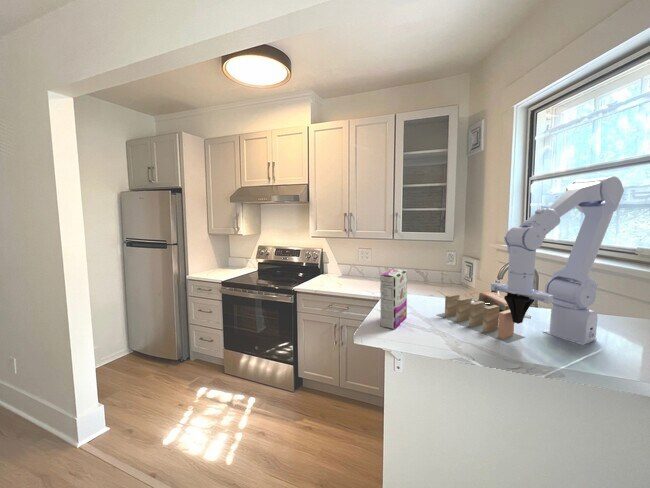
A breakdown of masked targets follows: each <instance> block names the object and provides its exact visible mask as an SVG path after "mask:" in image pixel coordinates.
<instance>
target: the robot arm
mask: <svg viewBox="0 0 650 488" xmlns="http://www.w3.org/2000/svg"><path fill="white" fill-rule="evenodd" d="M624 192H625V189H624V187H623V184H622V181H621V180H620V178H618V176H613V175H611V176H608V177H600V178H599V177H598V178H590V179H588V178H587V179H576V180H573V181H572V182H571V183H570V184H568V185H566V187H565V192H564V193H562V195H561V196H560V197H559V198H558V199H556V200H555V201H554V202H553V203H552V204H551V205H550V206H549V207H548V208H545V207H544V208H539V209H536V210H535V211H534V214H532V215H531V216H530V217H529V218H527V220H524V221H523V222H521V224H520V225H519V226H513V227H511V228H510V229H509V230H508V231H507V232H506V235H505V236H504V244H505V245H506V246H507V250H506V251H507V253H508V268H507V283H506V284H504V283H499V282H493V283H492V282H491V284H490V290H491V291H494V292H495V291H496V292H500V293H505V294H506V295H504V296H503V297H504V299H505V300H506V302H507V304H508V306H509V308H510V311H511V315H512V320H513V322H514V324H521V323H523V321H524V319H525V318H524V316H525V314H527V313H528V310H529V308H530V307H531V306H532V304H533V303H534V302H535V301H538V302H539V301H540V302H543V303H544V304H551V309H550V310H551V311H550V321H549V322H550V323H549V328H547V329H544V330H542V332H543V334H548V335H551V336H553V337H555V338H560V339H563V340H566V341H569V342H572V343H575V344H578V345H580V346H581V345H582V346H585V345H586V344H589V343H591V342H594V341H596V340H597V331H598V330H597V327H598V313H597V312H596V311H595V310H592V309H589V307H591V306H592V305H593V304H594V302H595V301H596V299H597V287H598V285H599V284H598V283H597V281H596V280H595V279H594V278H593V277H592V276H591V274H590V273H591V270H592V268H593V266H594V263H595V261H596V259H597V256H598V253H599V250H600V249H601V246H602V243H603V241H604V238H605V236H606V233H607V230H608V228H609V225H610V223H611V220H612V218H613V216H614V212H617V210H618V207H619V205H620V202H621V200H622V197H623V195H624ZM574 208H576V209H577V210H578V212H580V213H582V214H583V215H584V219H583V221H582V224H581V225H580V229H579V231H578V234H577V236H576V239H575V240H574V244H573V245H572V249H571V251H570V253H569V256H568V258H567V261H566V263H565V266H564V267H563V268H562V269H559V270H557V271H555V272H553V274H552V276H551V278H550V279H549V280H548V281H547V282H546V284H545V287H544V292H543V291H541V290H540V291H539V290H538V289H537V290H536V289H534V282H535V281H534V280H535V271H536V269H535V268H536V255H537V249H539V248H541V247H542V245H543V242H544V239H545V238H546V237H547V234H550V232H551V231H553V230H554V229H555V228H556V227H557V226H558V225H560V223H561V217H562V216H564V215H566V214H567V213H568V212H570V211H571V210H573V209H574Z"/></svg>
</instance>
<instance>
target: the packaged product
mask: <svg viewBox="0 0 650 488" xmlns="http://www.w3.org/2000/svg"><path fill="white" fill-rule="evenodd" d="M478 301H483V302H485V303H490V304H485V307H488V306H493V305H497V306H499V312H502V311H506V310H510V308H509V306H508V304H507V302H506V300H505V299H504V296H502V295H501V294H499V293H497V292H495V291H494V292H492V291H489V292H488V291H487V292H485V291H484V292H483V291H481V292H479V296H478V299H477V298H476V299H475V298H474V302H478ZM525 318H526V319H531V318H532V316H531V315H530V314H528V313H526V314H525V316H524V319H525Z"/></svg>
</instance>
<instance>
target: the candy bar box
mask: <svg viewBox="0 0 650 488" xmlns="http://www.w3.org/2000/svg"><path fill="white" fill-rule="evenodd" d="M379 277H380V327H381V328H386V329H390V330H396V329H397V328H398V327H399V326H400V325H401V324H402V323H403V322H404V321H405V320H406V319H407V309H408V305H407V304H408V303H407V299H408V297H407V296H408V283H407V282H408V270H407V269H401V268H392V269H391V270H389V271H386V272H384V273H382V274H380V276H379Z"/></svg>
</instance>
